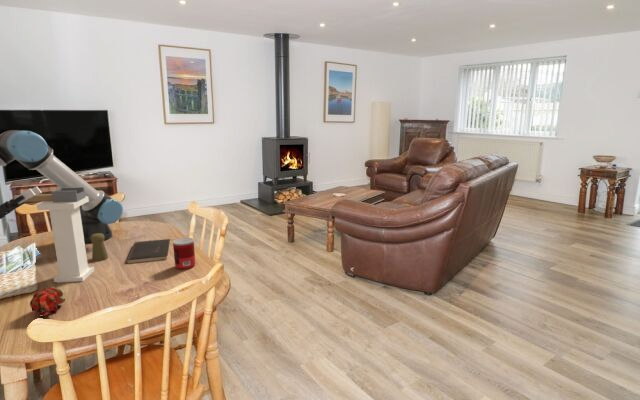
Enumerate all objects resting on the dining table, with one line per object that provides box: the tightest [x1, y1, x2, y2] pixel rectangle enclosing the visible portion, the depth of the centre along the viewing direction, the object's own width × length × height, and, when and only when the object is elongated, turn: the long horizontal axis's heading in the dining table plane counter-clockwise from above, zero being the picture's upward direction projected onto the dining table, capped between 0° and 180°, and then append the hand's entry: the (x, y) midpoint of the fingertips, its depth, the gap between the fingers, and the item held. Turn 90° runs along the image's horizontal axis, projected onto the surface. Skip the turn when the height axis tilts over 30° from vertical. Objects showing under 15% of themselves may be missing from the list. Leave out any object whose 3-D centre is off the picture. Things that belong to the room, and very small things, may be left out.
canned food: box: [172, 237, 196, 271], centre depth 159 cm, size 8×8×11 cm
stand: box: [36, 196, 95, 283], centre depth 147 cm, size 12×12×30 cm
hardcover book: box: [126, 238, 171, 264], centre depth 176 cm, size 16×23×2 cm
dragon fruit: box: [29, 286, 66, 319], centre depth 123 cm, size 8×8×12 cm
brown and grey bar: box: [12, 187, 85, 203], centre depth 142 cm, size 22×7×4 cm, turn 99°
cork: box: [90, 233, 109, 262], centre depth 167 cm, size 6×6×11 cm
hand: (35, 190), depth 141 cm, fingers open, 3 cm apart
